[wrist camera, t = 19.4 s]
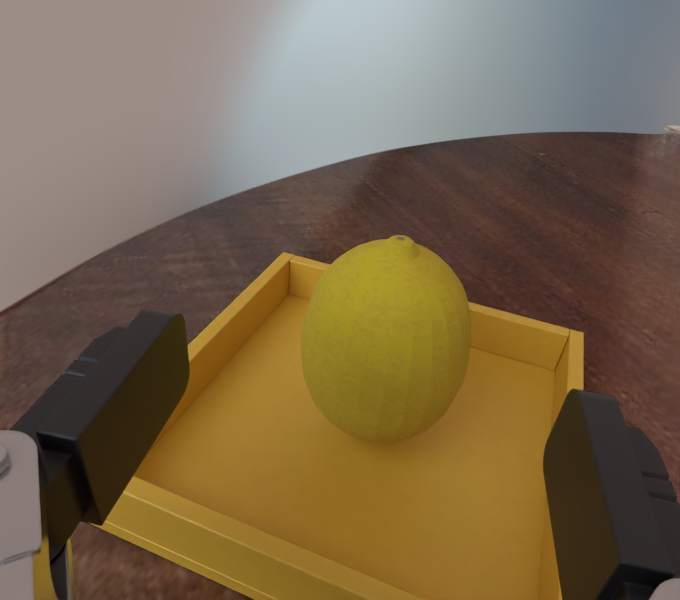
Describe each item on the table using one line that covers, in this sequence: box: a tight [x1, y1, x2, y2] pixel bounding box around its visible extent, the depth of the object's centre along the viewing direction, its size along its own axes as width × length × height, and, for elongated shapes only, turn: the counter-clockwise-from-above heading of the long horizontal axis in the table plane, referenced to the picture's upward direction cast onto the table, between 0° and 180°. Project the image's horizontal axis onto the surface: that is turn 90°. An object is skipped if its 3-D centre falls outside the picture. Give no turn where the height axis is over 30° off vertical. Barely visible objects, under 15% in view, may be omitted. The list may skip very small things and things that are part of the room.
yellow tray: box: [90, 252, 584, 600], centre depth 20 cm, size 14×14×3 cm
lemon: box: [301, 235, 472, 443], centre depth 18 cm, size 6×6×8 cm
